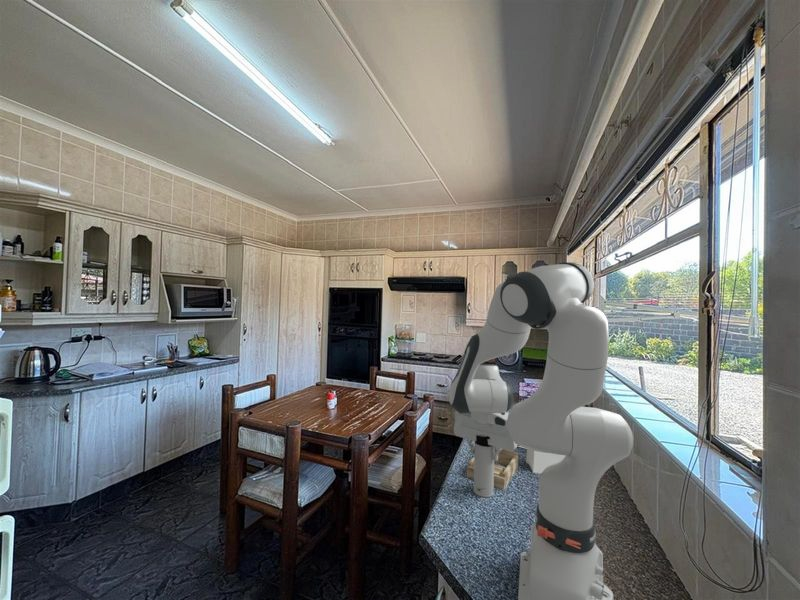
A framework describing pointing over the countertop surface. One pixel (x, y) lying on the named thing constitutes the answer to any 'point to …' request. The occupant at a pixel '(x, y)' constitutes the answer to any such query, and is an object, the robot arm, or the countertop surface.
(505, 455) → the birch rack
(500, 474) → the offcut top
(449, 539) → the countertop surface
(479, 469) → the travel mug
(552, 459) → the milk
